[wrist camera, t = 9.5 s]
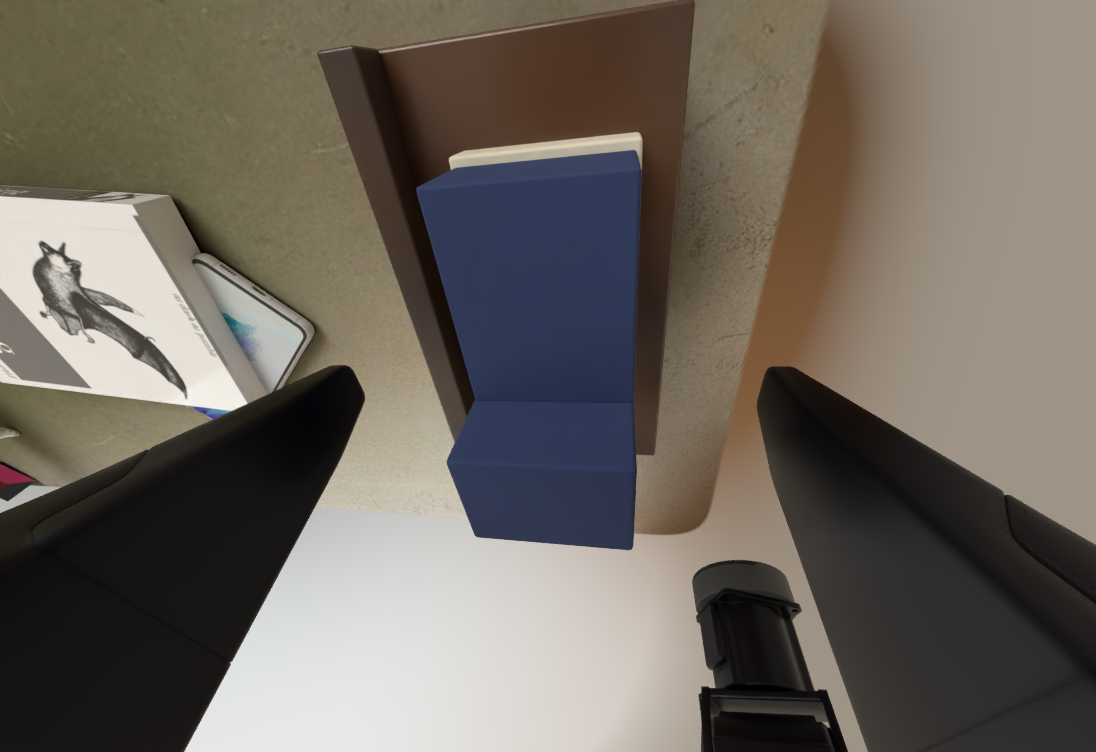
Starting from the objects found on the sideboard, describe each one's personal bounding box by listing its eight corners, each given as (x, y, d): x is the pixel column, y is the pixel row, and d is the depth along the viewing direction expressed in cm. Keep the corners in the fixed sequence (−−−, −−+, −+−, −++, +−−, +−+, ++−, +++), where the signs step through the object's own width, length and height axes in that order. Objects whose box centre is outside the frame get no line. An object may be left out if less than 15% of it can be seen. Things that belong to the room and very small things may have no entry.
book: (17, 365, 31) (-15, 380, 29) (-176, 174, 23) (-235, 181, 21) (278, 396, 28) (258, 414, 27) (169, 195, 20) (131, 204, 19)
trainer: (631, 413, 13) (637, 559, 9) (515, 410, 14) (473, 544, 10) (640, 131, 8) (660, 176, 4) (462, 150, 9) (335, 204, 5)
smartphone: (313, 332, 24) (249, 440, 31) (321, 325, 24) (256, 432, 32) (189, 249, 21) (153, 389, 29) (202, 244, 22) (164, 381, 30)
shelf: (643, 330, 21) (656, 478, 13) (518, 332, 22) (462, 468, 14) (657, 41, 14) (706, -14, 6) (473, 68, 15) (314, 50, 7)
